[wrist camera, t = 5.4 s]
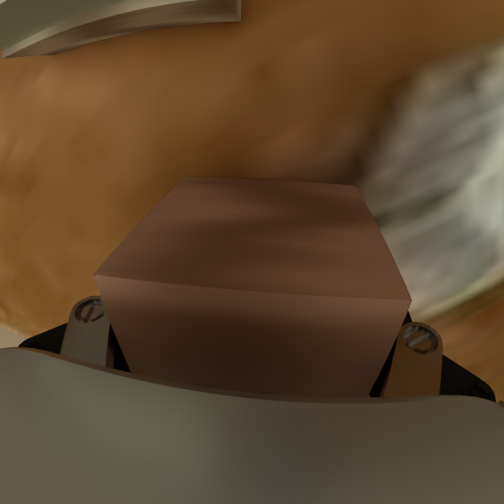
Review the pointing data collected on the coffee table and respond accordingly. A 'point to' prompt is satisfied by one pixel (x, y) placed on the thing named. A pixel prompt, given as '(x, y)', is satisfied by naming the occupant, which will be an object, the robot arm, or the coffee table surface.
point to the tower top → (39, 16)
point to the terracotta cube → (257, 289)
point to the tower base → (124, 23)
